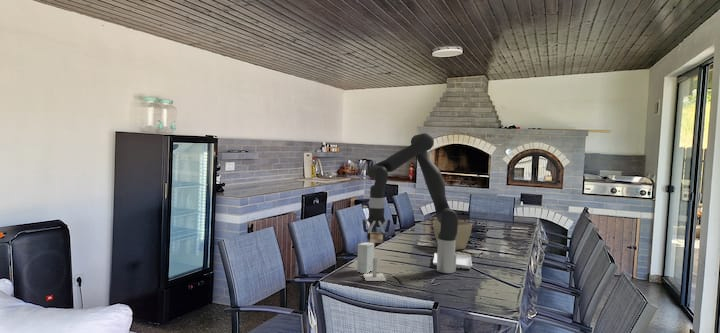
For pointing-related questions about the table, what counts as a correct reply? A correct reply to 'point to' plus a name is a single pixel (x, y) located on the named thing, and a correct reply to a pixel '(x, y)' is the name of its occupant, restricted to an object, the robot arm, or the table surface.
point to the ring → (376, 237)
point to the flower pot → (462, 233)
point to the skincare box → (365, 257)
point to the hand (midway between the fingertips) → (375, 240)
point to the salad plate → (458, 261)
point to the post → (374, 273)
